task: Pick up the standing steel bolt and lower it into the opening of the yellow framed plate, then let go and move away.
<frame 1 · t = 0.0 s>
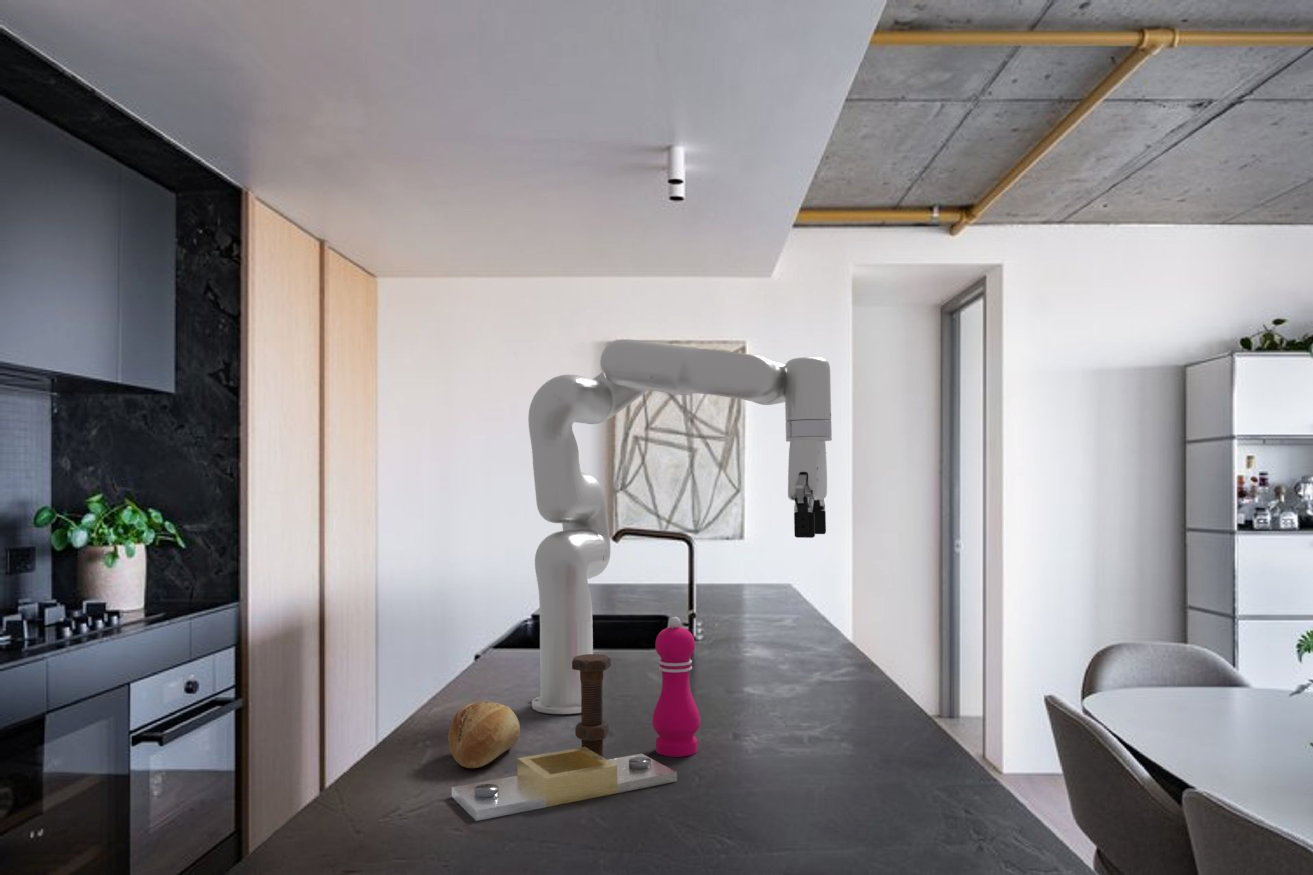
hand: (810, 535, 151), 31 cm above the countertop, tool pointing down, fingers open, 9 cm apart
bolt: (592, 762, 133), on the countertop
bread roll: (483, 760, 135), on the countertop
pepper mill: (676, 752, 137), on the countertop
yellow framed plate: (566, 788, 121), on the countertop
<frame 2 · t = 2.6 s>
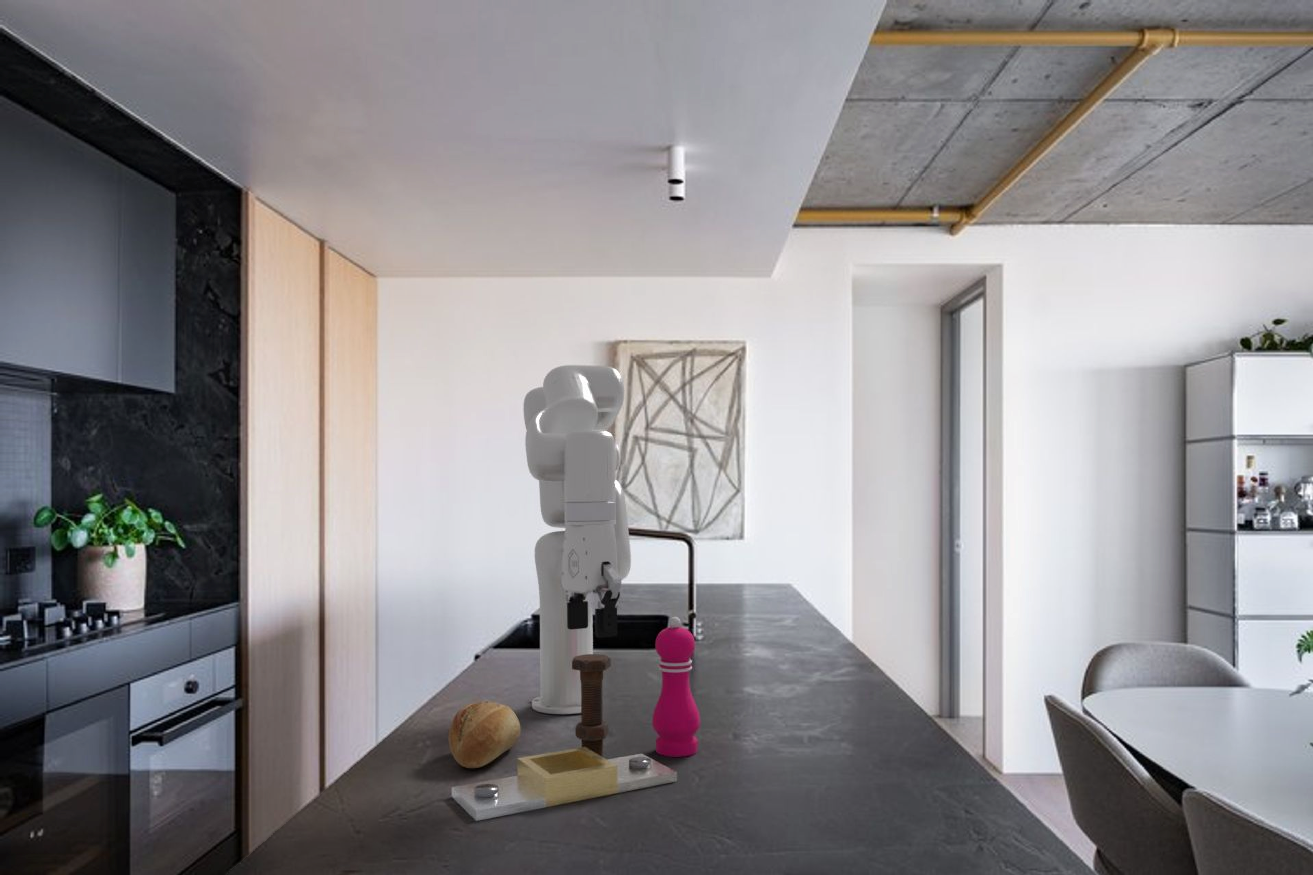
hand: (591, 632, 133), 19 cm above the countertop, tool pointing down, fingers open, 9 cm apart
nothing on the countertop moved.
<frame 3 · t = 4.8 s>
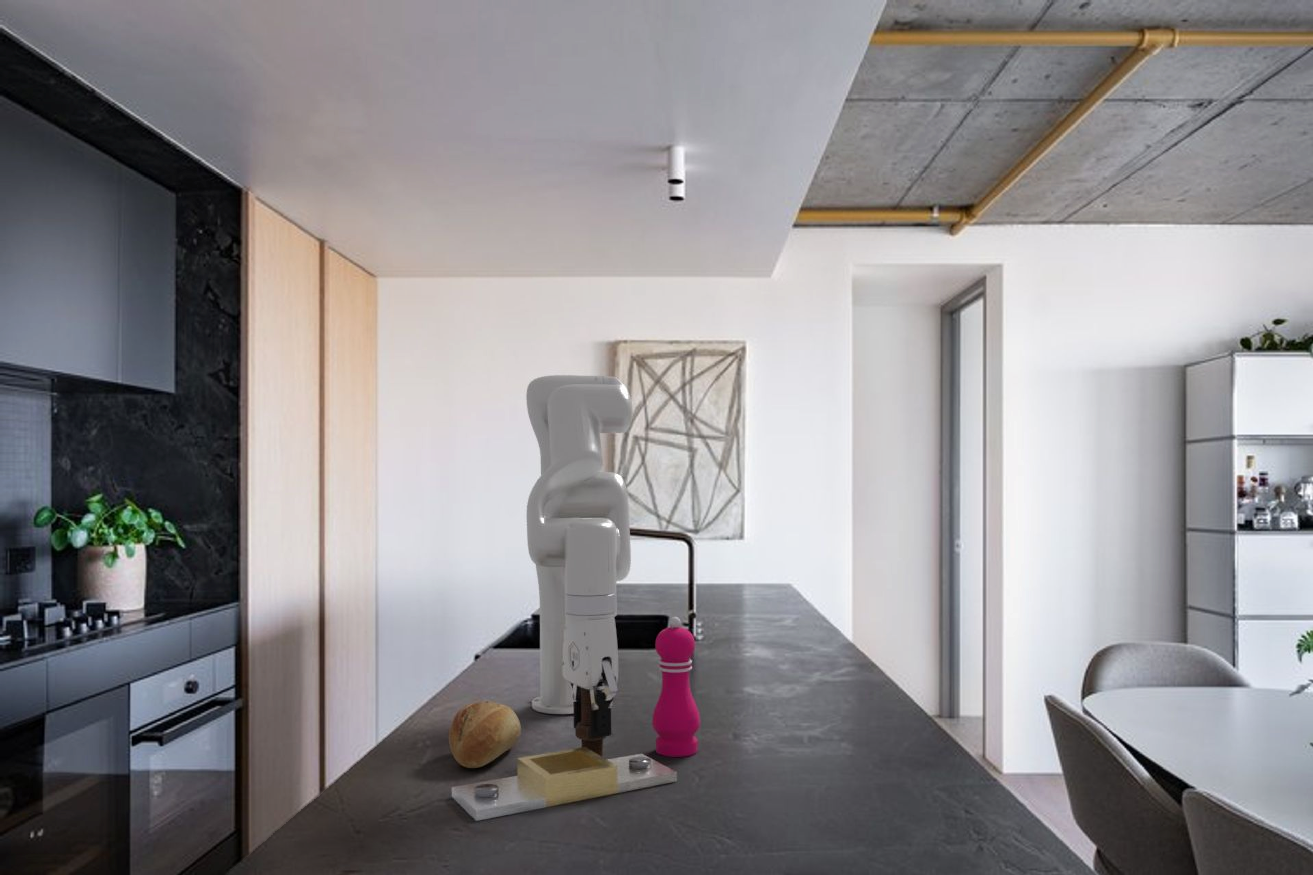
hand: (592, 730, 133), 4 cm above the countertop, tool pointing down, fingers closed on bolt, 4 cm apart
bolt: (592, 762, 133), on the countertop, touching gripper
everything else where it was.
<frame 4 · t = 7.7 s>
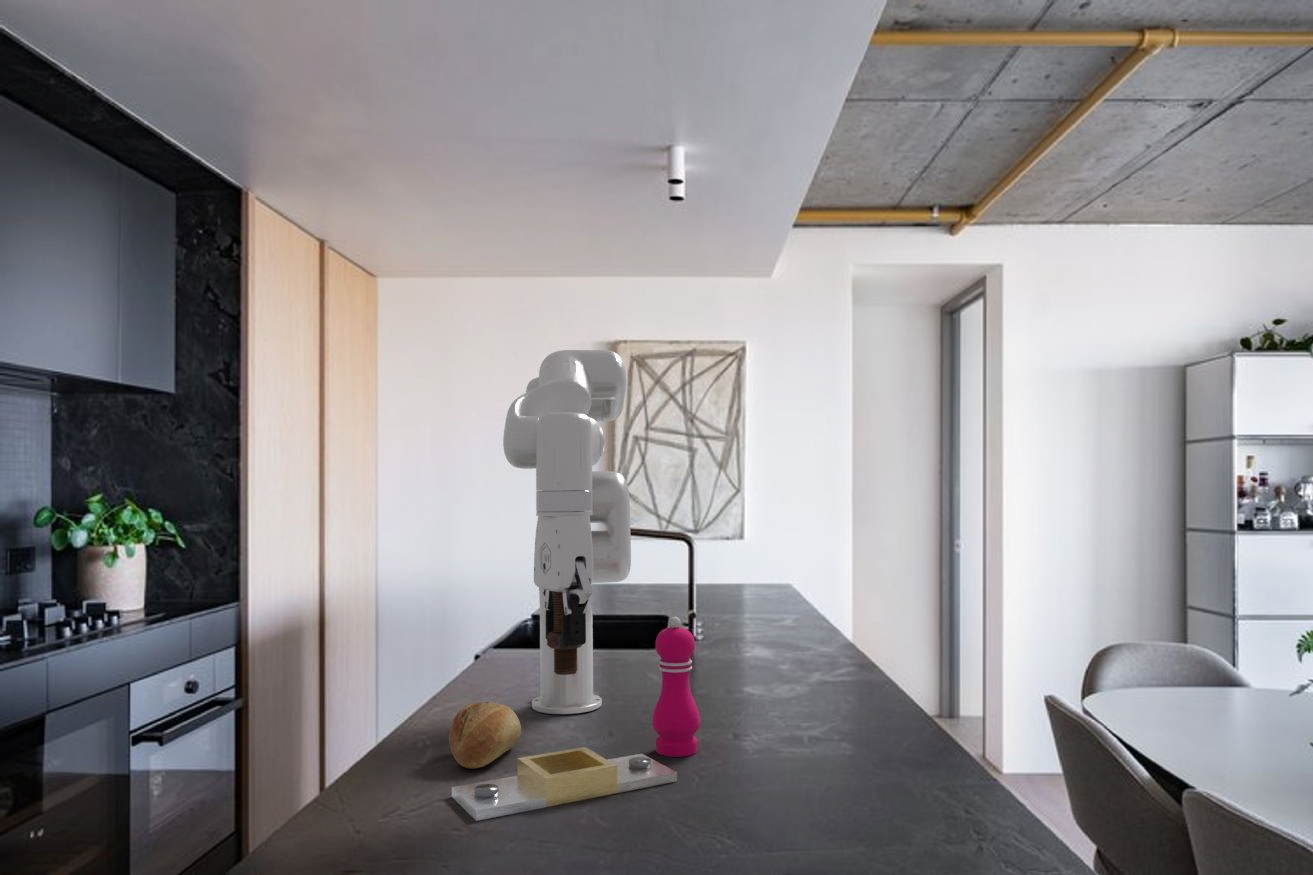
hand: (565, 640, 122), 19 cm above the countertop, tool pointing down, fingers closed on bolt, 4 cm apart
bolt: (565, 675, 122), point 15 cm above the countertop, touching gripper
everything else where it was.
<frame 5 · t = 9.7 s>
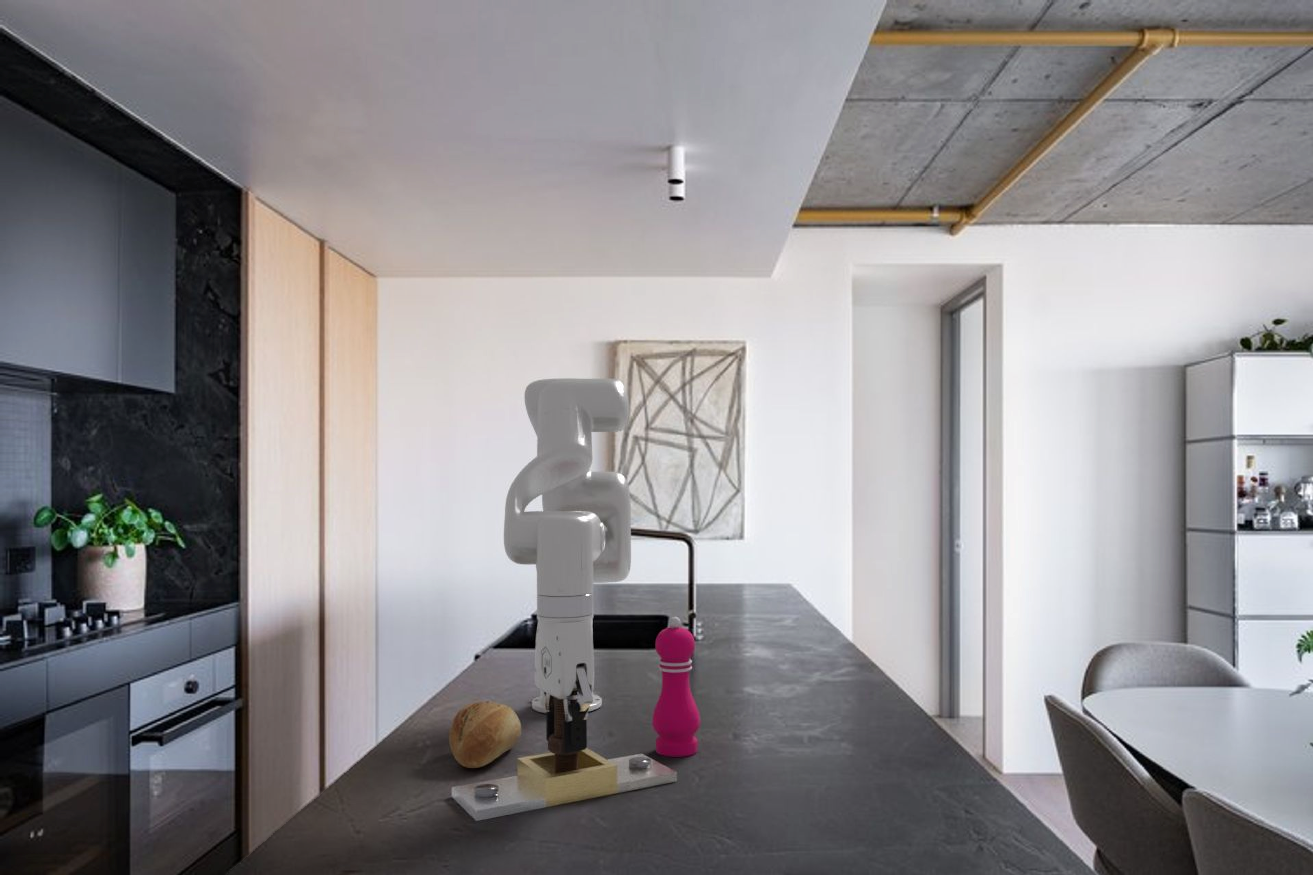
hand: (566, 743, 122), 6 cm above the countertop, tool pointing down, fingers closed on bolt, 4 cm apart
bolt: (566, 778, 121), point 1 cm above the countertop, touching gripper
everything else where it was.
when the fingers open (6 cm above the countertop, at t = 10.4 s): bolt drops 1 cm, resting in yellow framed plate.
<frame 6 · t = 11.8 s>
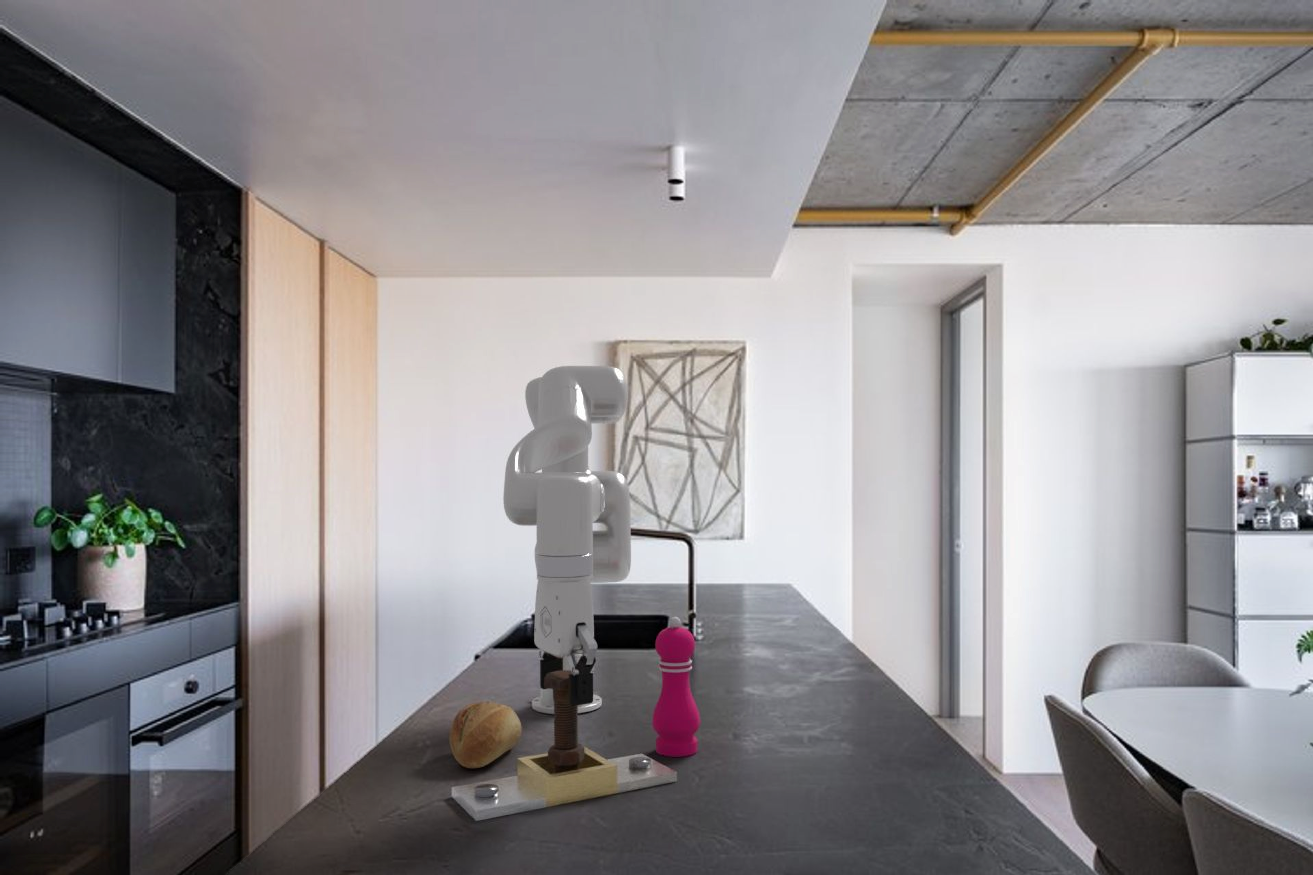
hand: (565, 695, 122), 12 cm above the countertop, tool pointing down, fingers open, 9 cm apart
bolt: (566, 789, 121), resting in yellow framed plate
everything else where it was.
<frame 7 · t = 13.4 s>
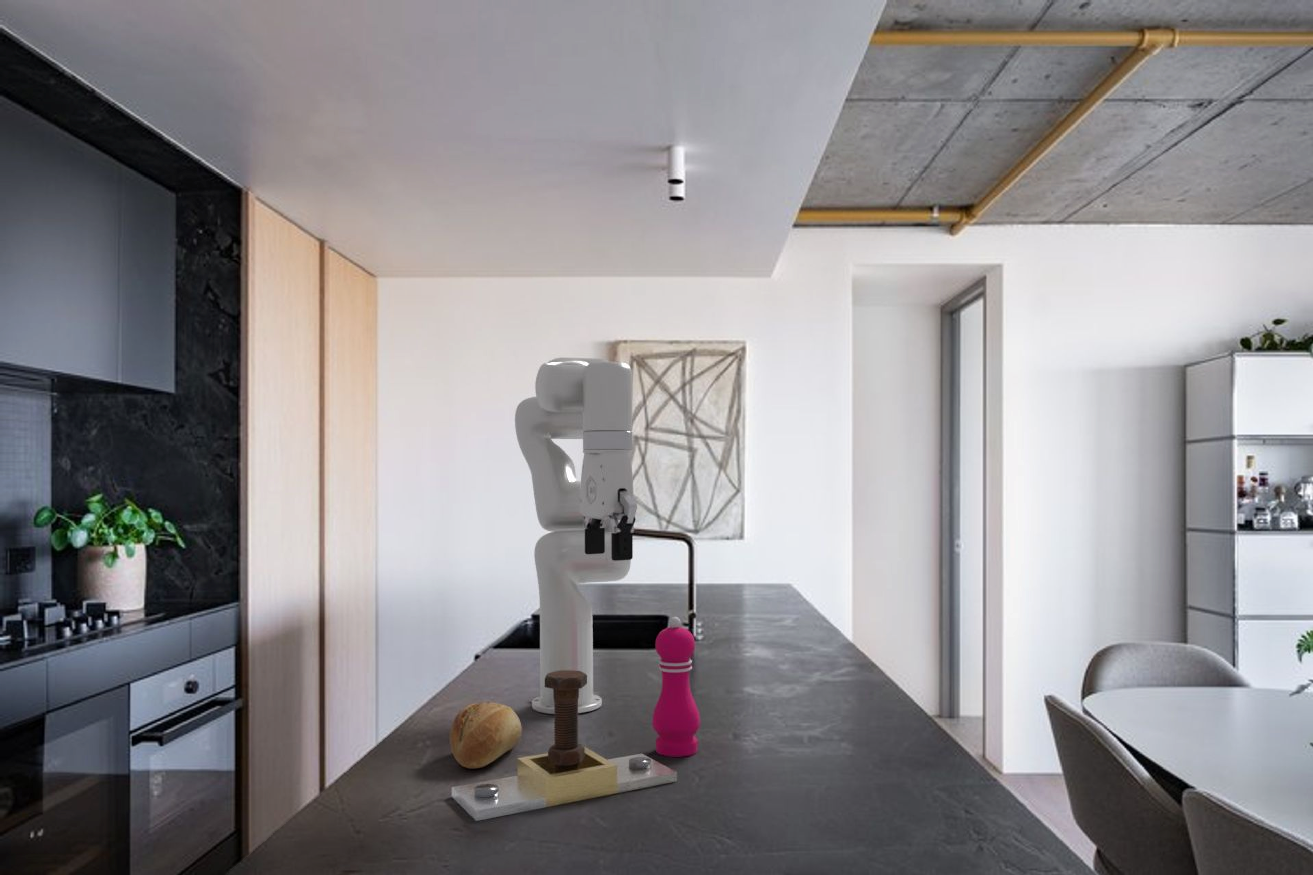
hand: (608, 556, 139), 29 cm above the countertop, tool pointing down, fingers open, 9 cm apart
nothing on the countertop moved.
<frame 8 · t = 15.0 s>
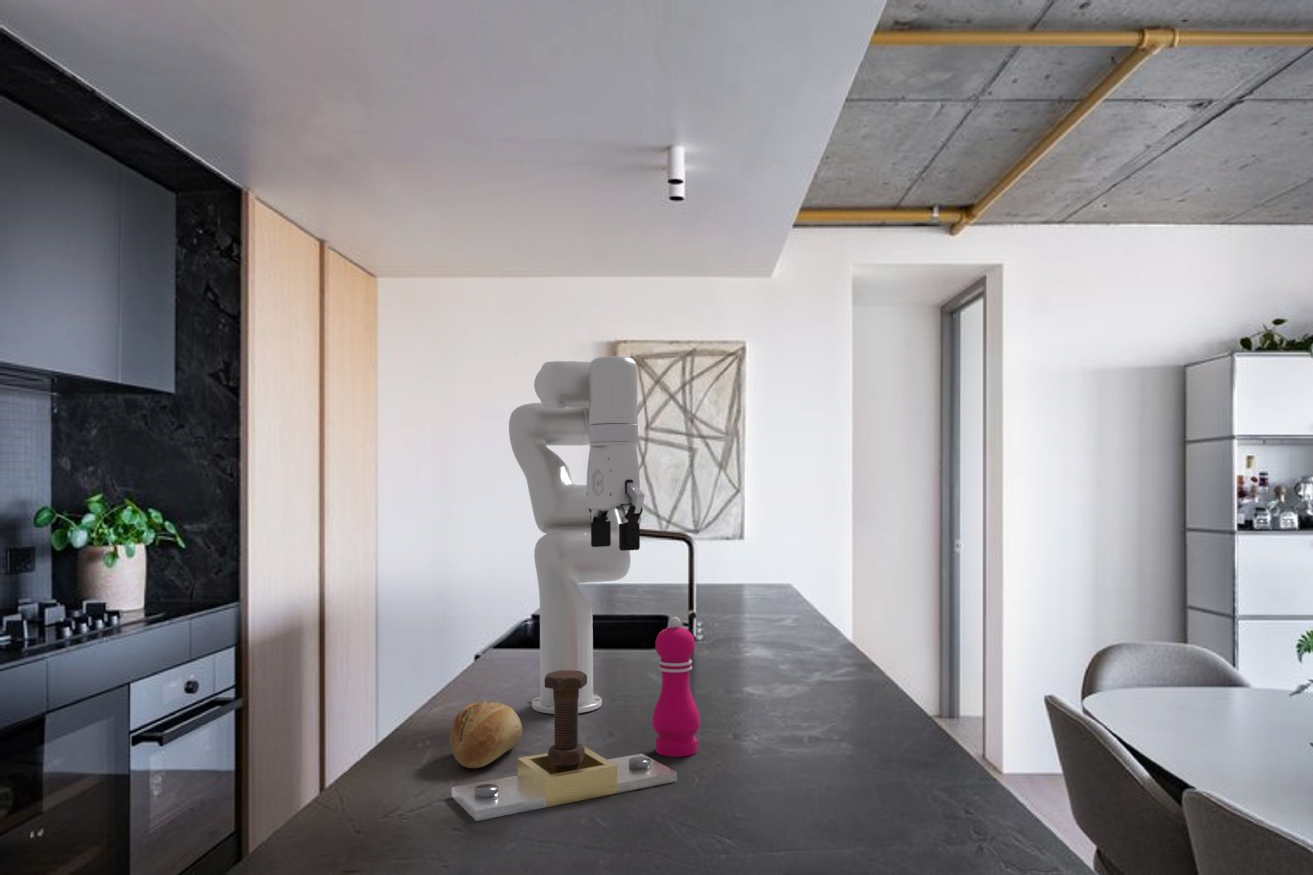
hand: (614, 548, 141), 30 cm above the countertop, tool pointing down, fingers open, 9 cm apart
nothing on the countertop moved.
at the end: bolt 0.2 cm off-centre on the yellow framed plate, point 0.0 cm above the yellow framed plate's base; bolt tilted 0°; the gripper is holding nothing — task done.
